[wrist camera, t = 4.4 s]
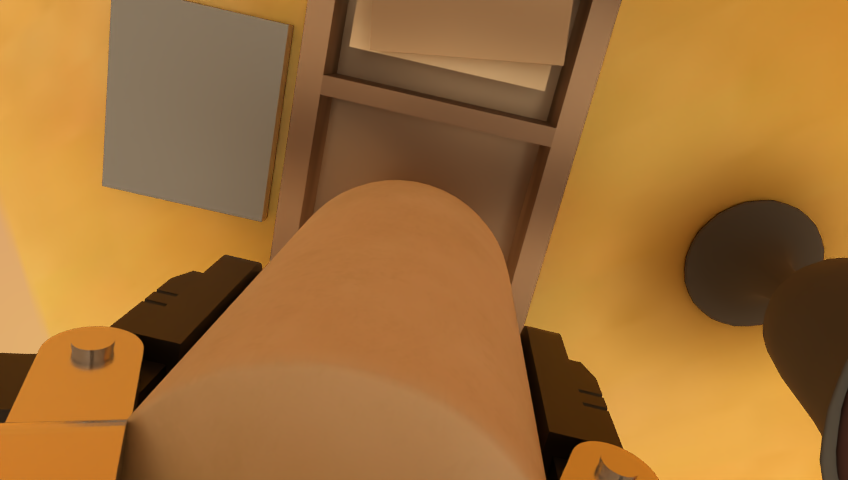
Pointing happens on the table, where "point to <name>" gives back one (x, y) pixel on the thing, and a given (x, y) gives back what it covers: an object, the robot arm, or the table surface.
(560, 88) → the tray
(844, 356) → the sundae
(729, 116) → the table surface
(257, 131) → the coaster
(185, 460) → the candle
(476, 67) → the offcut lower
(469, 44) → the offcut upper
